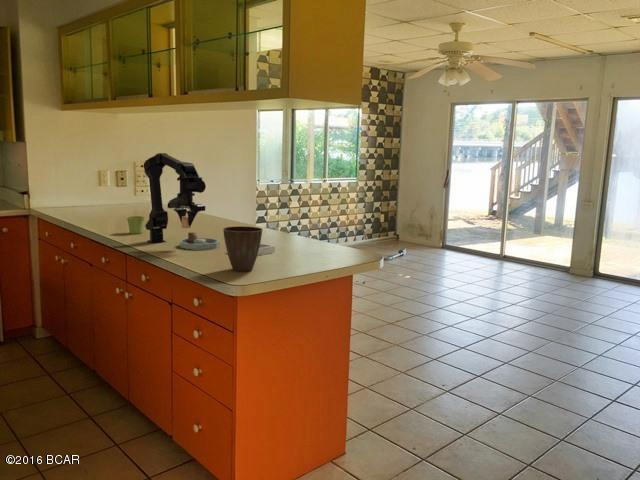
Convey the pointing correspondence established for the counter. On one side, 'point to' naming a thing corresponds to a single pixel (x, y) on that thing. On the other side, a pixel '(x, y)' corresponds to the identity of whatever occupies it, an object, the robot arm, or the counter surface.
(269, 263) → the counter surface
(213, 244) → the groove tray
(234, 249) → the plant pot
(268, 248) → the mug coaster frame
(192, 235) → the brown rounded short cylinder
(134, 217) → the plant pot
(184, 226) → the brown egg
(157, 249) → the counter surface
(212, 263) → the counter surface
